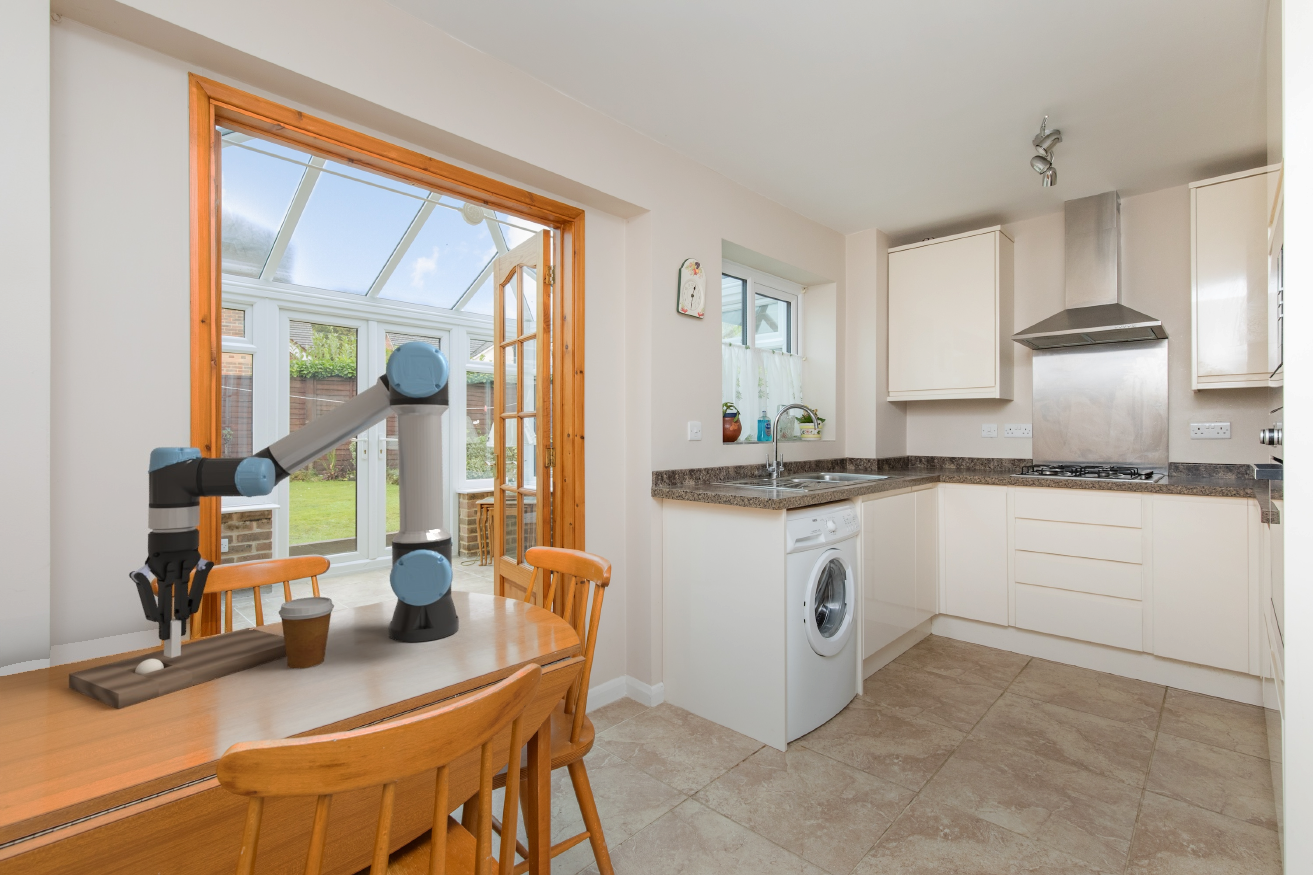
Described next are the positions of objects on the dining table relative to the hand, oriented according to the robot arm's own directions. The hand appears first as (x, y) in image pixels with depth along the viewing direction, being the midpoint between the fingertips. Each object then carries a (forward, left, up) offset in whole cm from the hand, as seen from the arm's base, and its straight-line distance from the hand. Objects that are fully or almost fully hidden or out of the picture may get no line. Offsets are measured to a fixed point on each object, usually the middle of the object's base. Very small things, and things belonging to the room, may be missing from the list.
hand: (172, 655), depth 112 cm
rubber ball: (0, +3, -2) cm, 4 cm away
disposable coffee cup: (-16, -16, -4) cm, 23 cm away
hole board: (0, -4, -4) cm, 5 cm away
